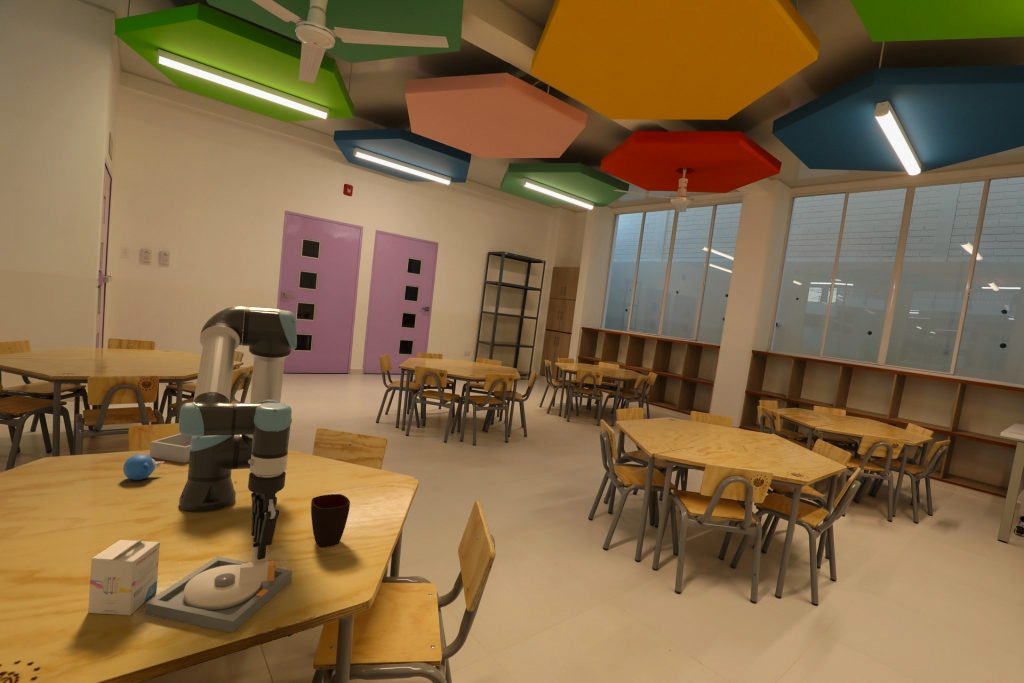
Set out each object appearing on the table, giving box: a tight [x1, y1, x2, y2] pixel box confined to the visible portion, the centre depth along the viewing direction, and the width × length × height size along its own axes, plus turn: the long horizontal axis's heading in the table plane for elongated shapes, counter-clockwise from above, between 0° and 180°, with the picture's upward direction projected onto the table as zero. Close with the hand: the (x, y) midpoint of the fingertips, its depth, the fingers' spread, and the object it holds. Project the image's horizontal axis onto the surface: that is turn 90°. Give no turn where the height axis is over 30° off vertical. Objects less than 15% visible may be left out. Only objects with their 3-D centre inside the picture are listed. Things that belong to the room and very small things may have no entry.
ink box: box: [87, 534, 161, 616], centre depth 102 cm, size 9×8×13 cm
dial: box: [184, 560, 277, 610], centre depth 108 cm, size 18×15×5 cm
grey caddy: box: [149, 432, 192, 463], centre depth 196 cm, size 15×23×6 cm, turn 172°
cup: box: [310, 493, 351, 549], centre depth 137 cm, size 10×14×12 cm
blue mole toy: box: [122, 453, 166, 481], centre depth 166 cm, size 12×12×8 cm
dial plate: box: [143, 555, 293, 634], centre depth 108 cm, size 20×20×3 cm
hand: (258, 570), depth 112 cm, fingers closed
